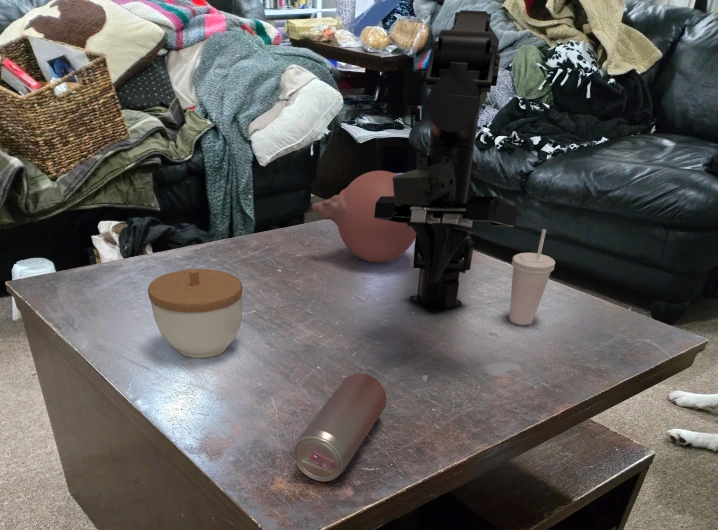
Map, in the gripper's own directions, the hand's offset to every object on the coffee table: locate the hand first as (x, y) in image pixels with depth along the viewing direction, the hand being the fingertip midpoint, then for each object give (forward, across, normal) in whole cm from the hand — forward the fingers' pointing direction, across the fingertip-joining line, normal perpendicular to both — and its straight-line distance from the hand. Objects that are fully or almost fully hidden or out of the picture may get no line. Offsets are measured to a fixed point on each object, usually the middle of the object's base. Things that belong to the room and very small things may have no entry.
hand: (433, 281), depth 85 cm
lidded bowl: (+12, -26, -18) cm, 34 cm away
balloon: (-2, -34, +24) cm, 42 cm away
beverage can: (+14, +2, -14) cm, 20 cm away
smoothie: (+5, +1, +24) cm, 24 cm away
